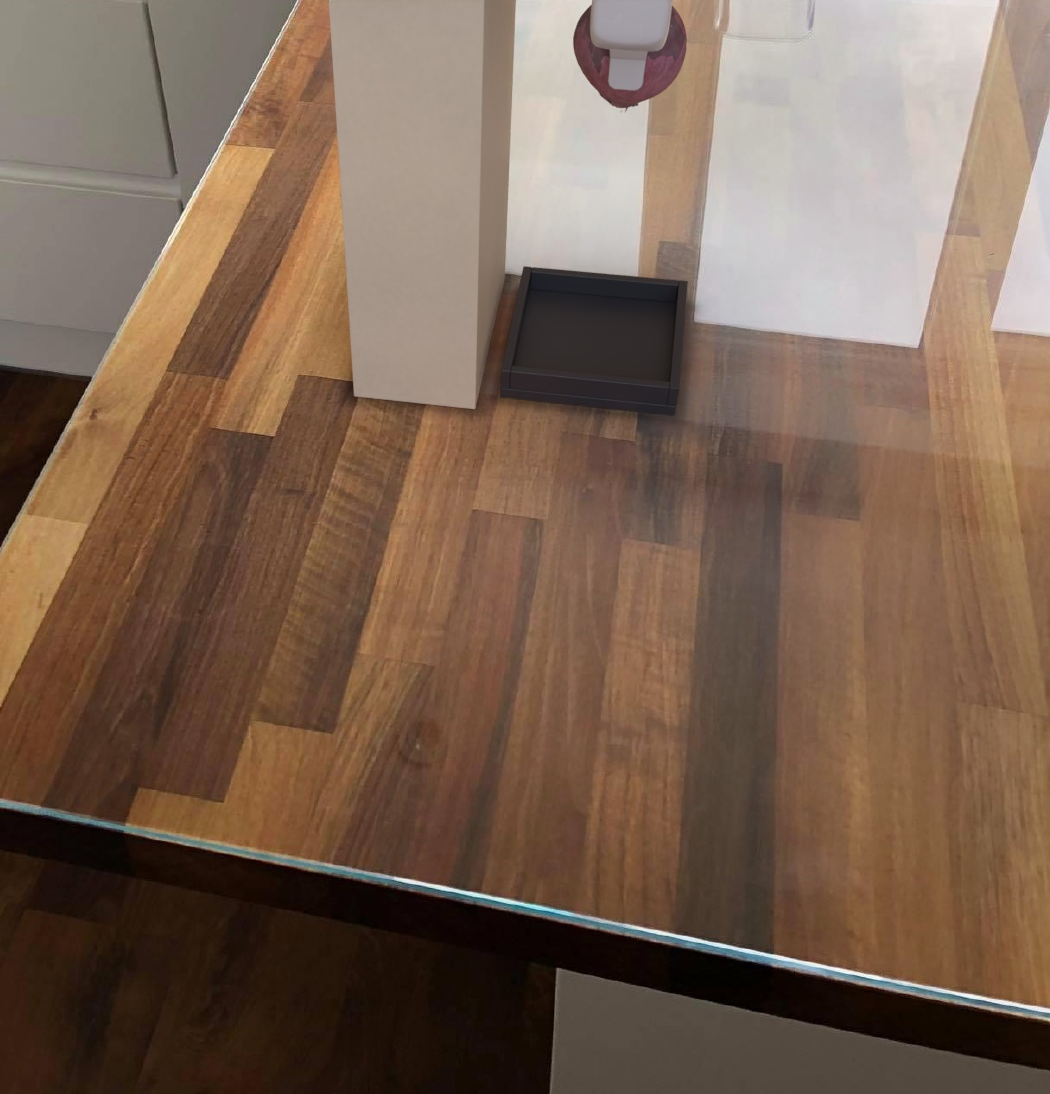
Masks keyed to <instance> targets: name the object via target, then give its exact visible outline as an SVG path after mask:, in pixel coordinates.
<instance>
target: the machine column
mask: <svg viewBox="0 0 1050 1094" xmlns="http://www.w3.org/2000/svg"><path fill="white" fill-rule="evenodd" d="M516 6H517V0H328V14H329V28H330V45H331V46H330V47H331V61H332V75H333V76H332V77H333V91H334V106H335V107H334V108H335V109H334V110H335V121H336V123H335V124H336V136H337V137H336V139H337V154H338V168H339V169H338V170H339V186H340V199H341V200H340V201H341V215H342V216H341V217H342V218H341V219H342V231H343V244H344V245H343V247H344V262H345V264H344V265H345V277H346V278H345V279H346V294H347V295H346V296H347V310H348V311H347V312H348V323H349V325H348V326H349V339H350V357H351V370H352V371H351V372H352V386H353V397H356V398H365V399H375V400H376V399H377V400H386V401H395V402H402V403H403V402H404V403H413V404H421V405H431V406H439V407H440V406H441V407H449V408H458V409H467V410H468V409H469V410H476V408H477V403H478V400H479V395H480V390H481V387H482V386H481V385H482V381H483V377H484V373H485V368H486V363H487V360H488V355H489V350H490V348H491V347H490V346H491V341H492V338H493V334H494V328H495V324H496V320H497V315H498V312H499V307H500V306H499V305H500V302H501V297H502V293H503V288H504V285H505V279H506V260H507V259H506V257H507V238H508V237H507V234H508V209H509V205H508V204H509V185H510V184H509V183H510V161H511V159H510V158H511V135H512V134H511V132H512V110H513V109H512V108H513V83H514V60H515V59H514V56H515V35H516V33H515V31H516Z"/></svg>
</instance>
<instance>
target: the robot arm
mask: <svg viewBox="0 0 1050 1094" xmlns="http://www.w3.org/2000/svg"><path fill="white" fill-rule="evenodd" d="M673 1H674V0H591V5H592V7H591V19H590V34H591V40H592V43H593V44H594V45H595V46H596V47H599V48H603V49H610V64H609V76H608V83H609V85H610V87H612V88H613V89H619V90H632V91H634V90H638V89H639V88H641V86H642V84H643V79H644V71H645V63H646V57H647V53H648V52H654V51H659V50H660V49H662V48H663V46H664V44H665V42H666V39H667V36H668V32H669V25H670V18H671V10H672V6H673Z"/></svg>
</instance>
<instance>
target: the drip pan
mask: <svg viewBox="0 0 1050 1094" xmlns="http://www.w3.org/2000/svg"><path fill="white" fill-rule="evenodd" d="M688 285H689V281H688V280H681V279H680V280H678V279H671V278H670V279H668V278H657V277H645V276H636V275H624V274H614V273H613V274H612V273H603V272H593V271H581V270H569V269H561V268H560V269H559V268H549V267H537V266H527V265H526V266H525V265H524V266H523V267H522V271H521V276H520V281H519V285H518V290H517V294H516V299H515V304H514V309H513V312H512V317H511V322H510V327H509V332H508V337H507V342H506V346H505V350H504V351H505V352H504V355H503V361H502V364H501V370H500V387H499V388H500V390H499V397H500V398H504V399H512V400H513V399H514V400H522V401H531V402H540V403H549V404H550V403H551V404H559V405H567V406H568V405H570V406H577V407H588V408H598V409H605V410H615V411H626V412H636V413H644V414H645V413H646V414H654V415H665V416H673V417H675V416H676V411H677V405H678V399H679V394H680V386H681V372H682V359H683V347H684V337H685V324H686V310H687V299H688V298H687V297H688V287H689V286H688Z"/></svg>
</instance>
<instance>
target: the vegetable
mask: <svg viewBox="0 0 1050 1094" xmlns="http://www.w3.org/2000/svg"><path fill="white" fill-rule="evenodd" d="M591 7H592V4H590V5H589V6H588V7H587V8H586V10H584V11H583V13H582V14H581V16H580V17H579V18H578V21H577V23H576V26H575V29H574V32H573V36H572V46H573V47H572V48H573V53H574V56H575V60H576V62H577V65H578V66H579V69H580V70H581V73H582V74H583V75H584V77H585V78H586V80H587V81H588V82H589V84H590V85H591V86H592V87H593V88H594V89H595V90H596V91H597V92H598V94H599V96H600V97H601V98H603V100H604V101H606V102H607V103H608V104H609V105H611V107H615V108H616V109H625V110H624V112H627V111H628V109H629V108H635V107H639V103H642V102H645V101H648V100H651V99H652V98H654V97H657V96H659V95H660V94H662V93H663V92H665V90H667V89H668V88H669V87H670V86H671V85H672V84H673V82H674V81H675V80H676V78H677V77H678V75H679V73H680V71H681V70H682V66H683V65H684V62H685V59H686V53H687V41H688V38H687V31H686V27H685V23H684V20H683V19H682V17H681V14H680V13H679V11H677V10H676V8H675V7H674V6H673V5H672V10H671V18H670V25H669V32H668V36H667V39H666V42H665V44H664V46H663V48H662V49H660V50H659V51H654V52H648V53H647V57H646V63H645V71H644V79H643V84H642V86H641V88H639V89H638V90H634V91H632V90H619V89H613V88H612V87H610V85H609V83H608V76H609V64H610V49H603V48H599V47H596V46H595V45H594V44H593V43H592V40H591V34H590V19H591ZM620 112H623V110H620Z"/></svg>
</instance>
